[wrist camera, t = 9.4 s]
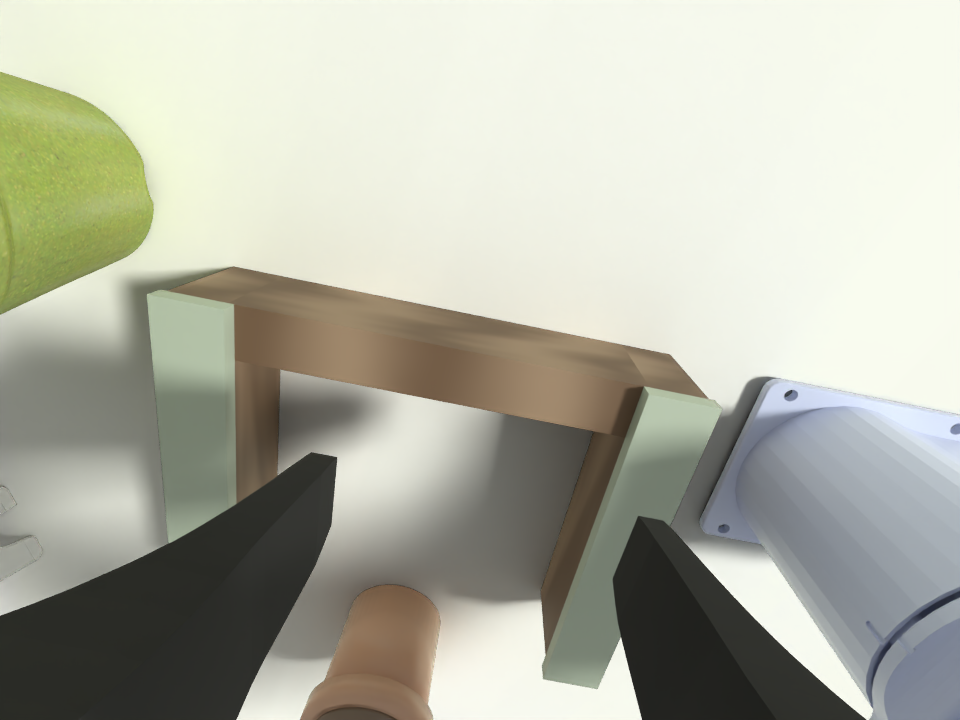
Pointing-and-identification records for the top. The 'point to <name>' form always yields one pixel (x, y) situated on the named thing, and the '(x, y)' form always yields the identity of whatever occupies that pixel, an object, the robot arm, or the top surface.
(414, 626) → the seedling pot
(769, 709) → the robot arm
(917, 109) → the top surface
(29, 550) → the portable electronic device stand
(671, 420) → the green brown u-shaped frame
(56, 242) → the plant pot
